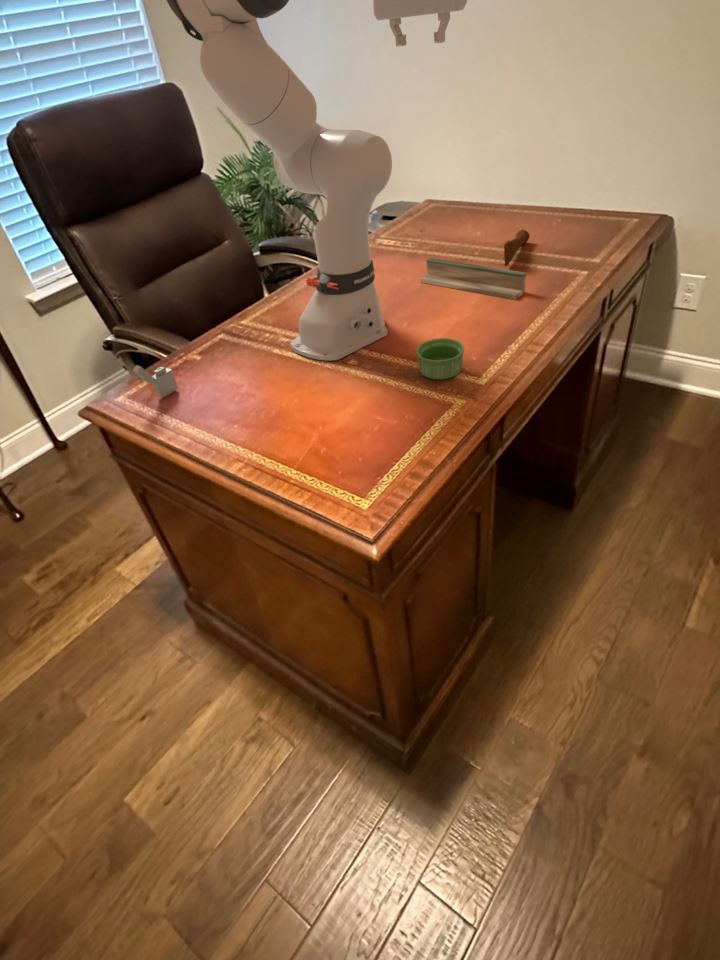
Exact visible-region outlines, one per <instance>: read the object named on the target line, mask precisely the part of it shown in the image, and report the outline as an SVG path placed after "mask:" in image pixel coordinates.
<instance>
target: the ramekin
mask: <svg viewBox="0 0 720 960" xmlns="http://www.w3.org/2000/svg"><path fill="white" fill-rule="evenodd" d="M415 353H416V357H417V360H418V366H419V367H418V368H419V371H420V373H421V374H422V376H424V377H426V378H429V379H432V380H446V379H451V378H453V377H455V376H456V375H458V374H459V373H460V372H461V371H462V368H463V359H464V354H465V346H464V344H463V343H462V342H460V341H459V340H456V339H453V338H448V337H447V338H446V337H439V338H434V339H433V338H432V339H429V340H426V341H424V342H422V343H420V344H419V345H418V346H417V348H416V351H415Z"/></svg>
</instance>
